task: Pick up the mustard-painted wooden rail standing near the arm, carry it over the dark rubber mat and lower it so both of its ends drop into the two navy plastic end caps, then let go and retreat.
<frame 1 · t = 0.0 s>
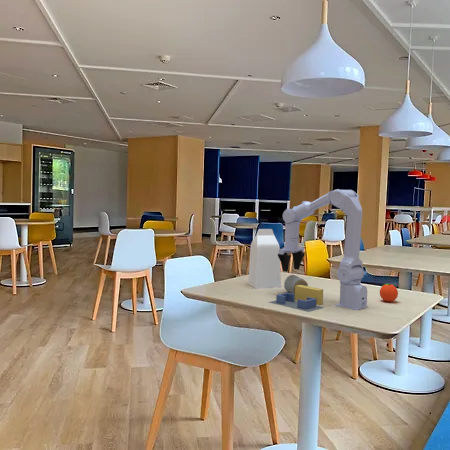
hand: (291, 270, 191), 10 cm above the table, tool pointing down, fingers open, 7 cm apart
mat: (295, 305, 172), on the table
end cap b: (282, 301, 177), resting on mat
ceramic mug: (298, 294, 193), on the table
slat: (308, 302, 177), on the table
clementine: (387, 301, 182), on the table
milk: (264, 286, 209), on the table
end cap a: (310, 307, 167), resting on mat
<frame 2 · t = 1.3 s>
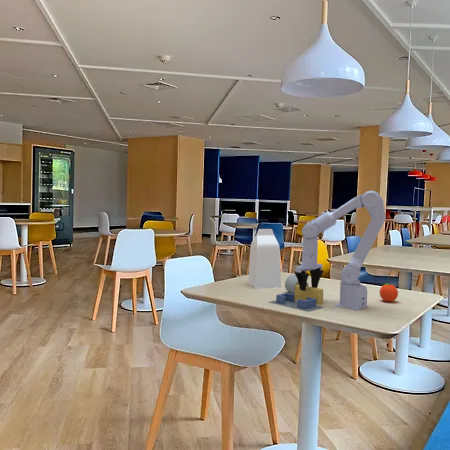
hand: (308, 289, 177), 5 cm above the table, tool pointing down, fingers open, 7 cm apart
nothing on the table moved.
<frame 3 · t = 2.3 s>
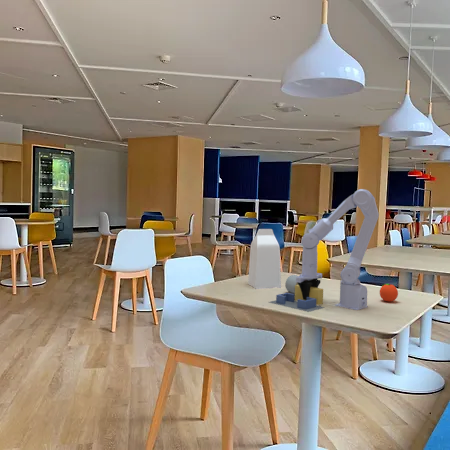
hand: (308, 298, 177), 1 cm above the table, tool pointing down, fingers closed on slat, 3 cm apart
slat: (308, 302, 177), on the table, touching gripper
everything else where it was.
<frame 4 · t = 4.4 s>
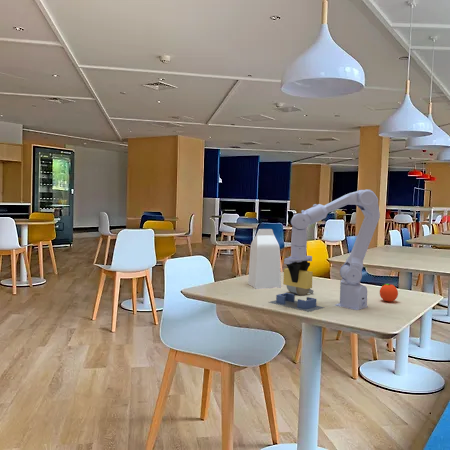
hand: (297, 281, 172), 9 cm above the table, tool pointing down, fingers closed on slat, 3 cm apart
slat: (297, 286, 172), point 7 cm above the table, touching gripper
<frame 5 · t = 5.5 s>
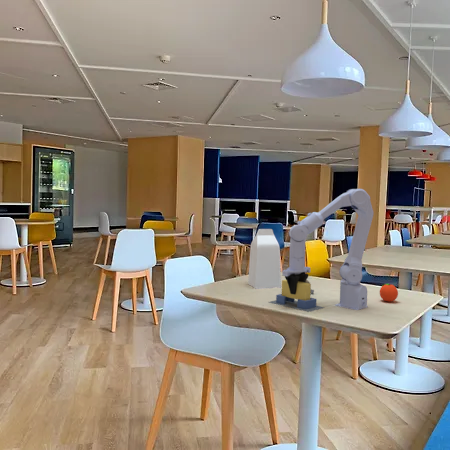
hand: (296, 293, 172), 5 cm above the table, tool pointing down, fingers closed on slat, 3 cm apart
slat: (295, 297, 172), point 3 cm above the table, touching gripper
when the fingers open (3 cm above the table, at t = 6.3 s): slat stays where it is, resting on mat.
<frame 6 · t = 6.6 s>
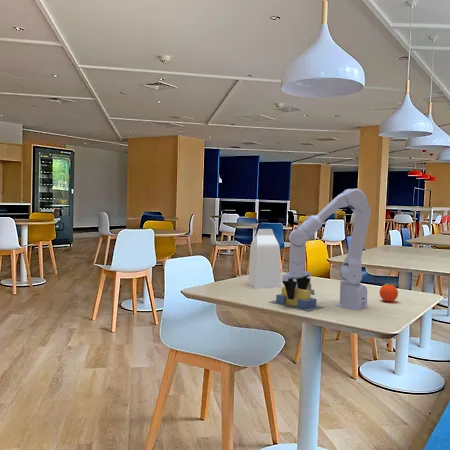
hand: (296, 297, 172), 3 cm above the table, tool pointing down, fingers open, 6 cm apart
slat: (295, 304, 172), resting on mat
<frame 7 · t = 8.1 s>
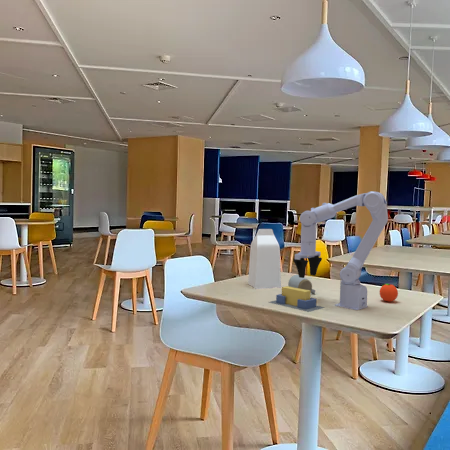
hand: (307, 276, 178), 10 cm above the table, tool pointing down, fingers open, 7 cm apart
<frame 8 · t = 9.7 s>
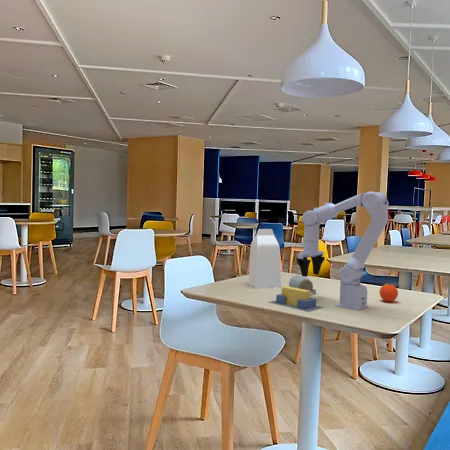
hand: (310, 275, 181), 10 cm above the table, tool pointing down, fingers open, 7 cm apart
at the end: slat 0.1 cm from the target spot, resting on mat; slat tilted 0°; the gripper is holding nothing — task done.
